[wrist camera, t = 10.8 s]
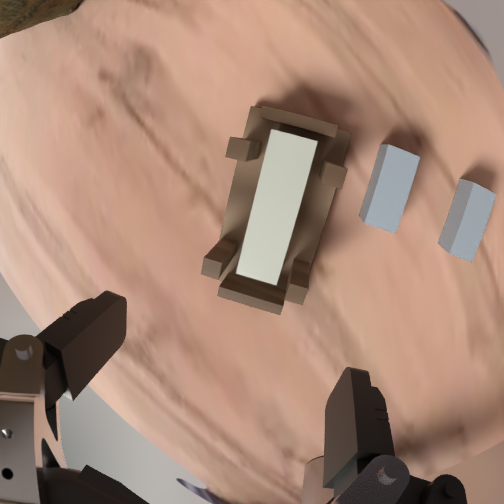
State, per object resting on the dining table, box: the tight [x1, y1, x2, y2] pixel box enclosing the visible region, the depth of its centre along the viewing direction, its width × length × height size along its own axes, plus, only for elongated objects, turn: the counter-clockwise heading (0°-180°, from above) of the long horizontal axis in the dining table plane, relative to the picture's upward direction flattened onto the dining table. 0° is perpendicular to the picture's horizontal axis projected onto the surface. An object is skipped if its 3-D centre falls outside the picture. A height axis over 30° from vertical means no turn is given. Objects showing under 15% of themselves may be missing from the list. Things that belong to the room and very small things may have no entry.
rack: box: [201, 105, 351, 315], centre depth 25 cm, size 17×9×7 cm, turn 166°
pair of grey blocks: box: [359, 144, 496, 262], centre depth 24 cm, size 7×12×3 cm, turn 76°
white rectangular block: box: [236, 129, 318, 285], centre depth 25 cm, size 4×12×4 cm, turn 166°
